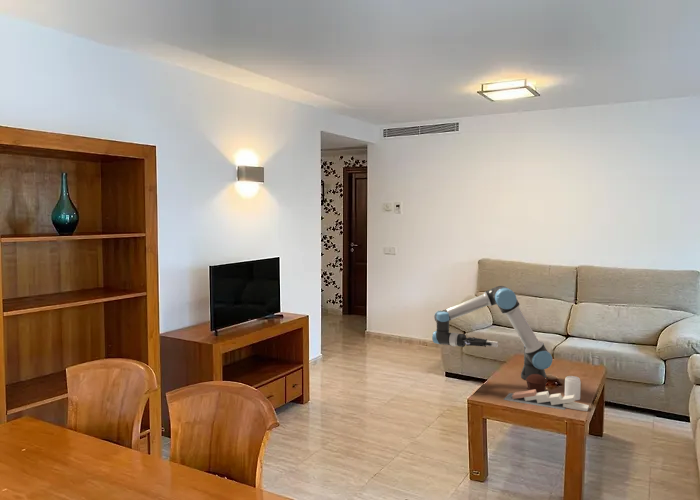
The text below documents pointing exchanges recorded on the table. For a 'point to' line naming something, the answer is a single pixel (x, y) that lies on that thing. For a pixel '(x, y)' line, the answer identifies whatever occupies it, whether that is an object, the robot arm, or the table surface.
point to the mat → (534, 402)
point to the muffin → (536, 382)
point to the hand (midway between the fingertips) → (497, 344)
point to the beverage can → (572, 386)
